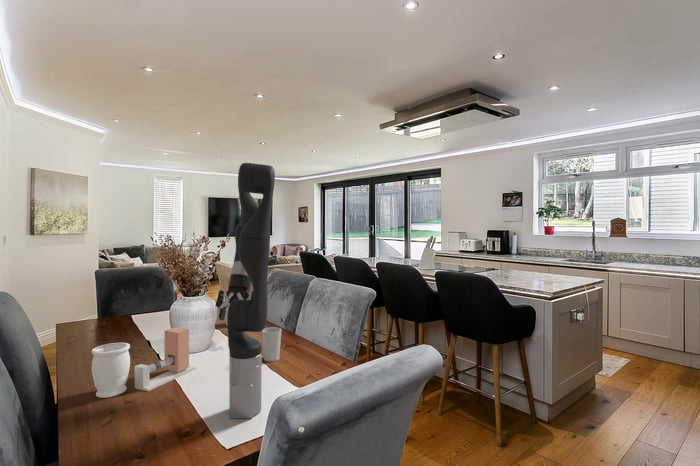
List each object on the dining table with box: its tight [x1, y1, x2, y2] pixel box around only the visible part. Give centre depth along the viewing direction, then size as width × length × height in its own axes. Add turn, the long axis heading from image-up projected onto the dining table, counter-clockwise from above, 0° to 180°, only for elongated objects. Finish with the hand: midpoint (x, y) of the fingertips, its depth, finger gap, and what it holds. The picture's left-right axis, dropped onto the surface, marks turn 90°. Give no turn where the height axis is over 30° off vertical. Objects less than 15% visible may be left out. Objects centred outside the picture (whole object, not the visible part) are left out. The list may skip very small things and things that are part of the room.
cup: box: [261, 326, 282, 362], centre depth 153 cm, size 8×8×12 cm
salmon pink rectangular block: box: [164, 326, 190, 372], centre depth 138 cm, size 5×7×14 cm
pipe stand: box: [134, 356, 197, 392], centre depth 133 cm, size 21×6×8 cm, turn 158°
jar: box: [91, 342, 131, 399], centre depth 121 cm, size 11×10×15 cm
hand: (233, 320), depth 129 cm, fingers open, 8 cm apart
